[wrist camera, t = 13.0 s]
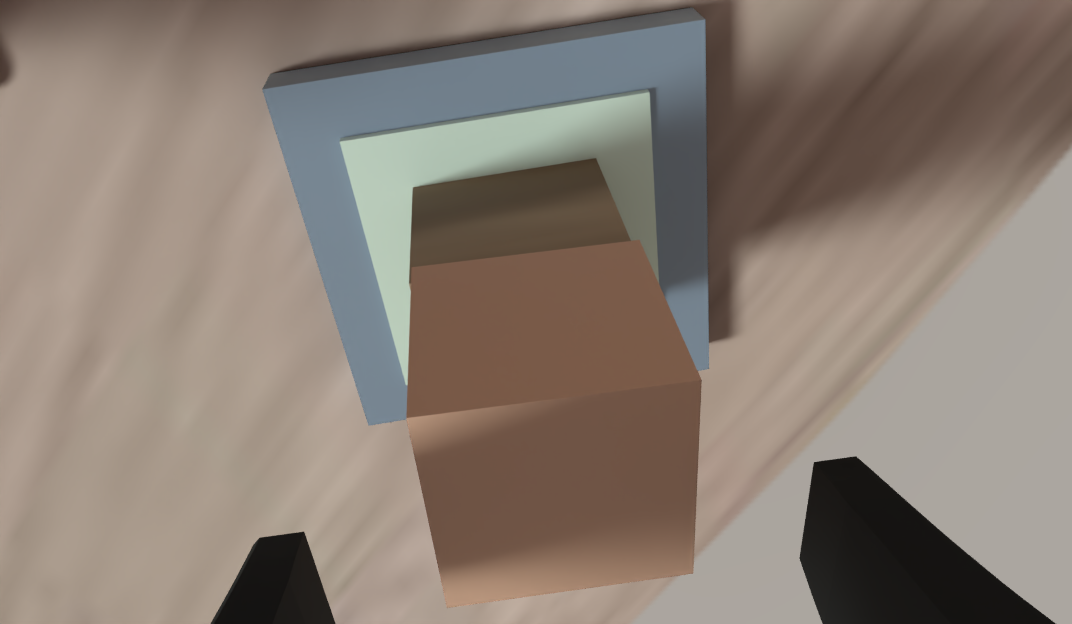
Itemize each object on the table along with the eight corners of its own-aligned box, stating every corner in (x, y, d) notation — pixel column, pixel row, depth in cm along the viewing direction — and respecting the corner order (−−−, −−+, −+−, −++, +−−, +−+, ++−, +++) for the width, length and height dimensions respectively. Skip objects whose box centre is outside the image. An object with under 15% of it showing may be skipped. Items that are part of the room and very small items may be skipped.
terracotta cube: (411, 267, 14) (406, 417, 11) (639, 239, 15) (701, 379, 11) (443, 439, 17) (447, 607, 13) (640, 413, 17) (692, 573, 13)
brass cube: (412, 187, 18) (409, 284, 15) (595, 158, 18) (633, 247, 15) (446, 336, 20) (449, 450, 17) (609, 310, 20) (644, 417, 17)
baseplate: (270, 73, 17) (260, 92, 16) (692, 7, 18) (708, 22, 17) (370, 401, 22) (368, 430, 21) (698, 346, 23) (710, 373, 22)
